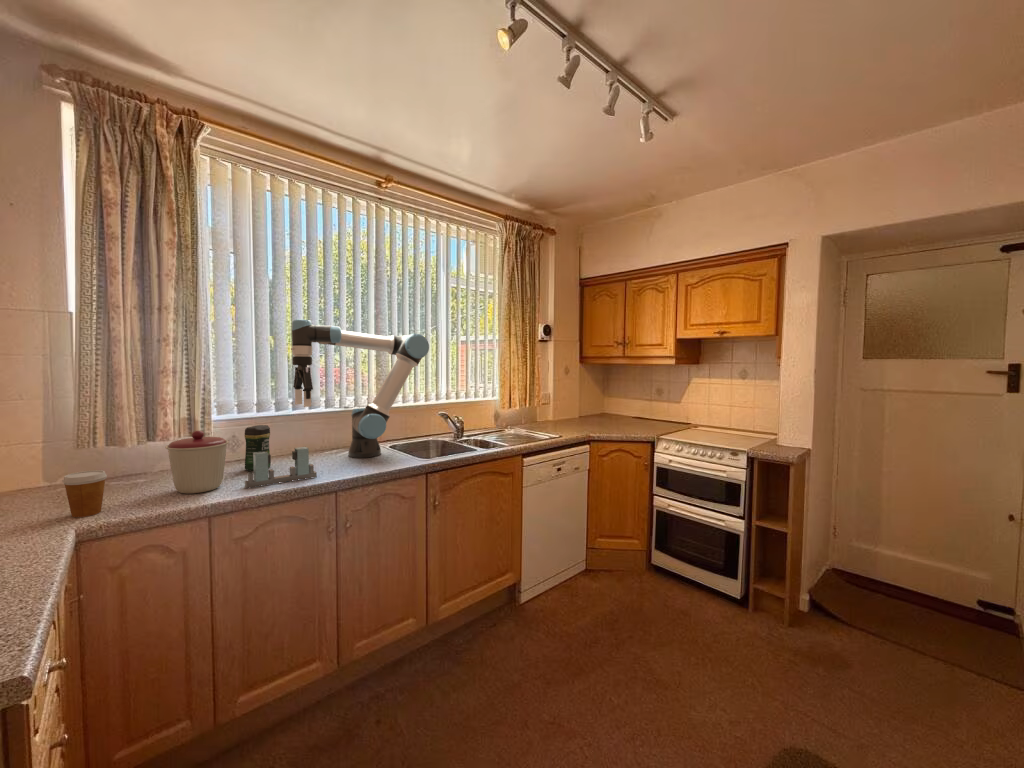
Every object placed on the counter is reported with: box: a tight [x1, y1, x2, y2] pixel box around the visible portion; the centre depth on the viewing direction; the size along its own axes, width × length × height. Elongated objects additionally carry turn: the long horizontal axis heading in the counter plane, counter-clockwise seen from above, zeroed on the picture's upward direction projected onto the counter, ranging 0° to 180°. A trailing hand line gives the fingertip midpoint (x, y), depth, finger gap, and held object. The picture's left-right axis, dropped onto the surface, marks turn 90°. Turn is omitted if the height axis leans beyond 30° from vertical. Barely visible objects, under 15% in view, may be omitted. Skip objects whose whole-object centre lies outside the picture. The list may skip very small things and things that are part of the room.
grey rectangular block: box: [253, 451, 272, 482], centre depth 160 cm, size 5×4×10 cm
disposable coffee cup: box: [61, 469, 108, 518], centre depth 129 cm, size 10×10×12 cm
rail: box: [244, 446, 318, 489], centre depth 165 cm, size 24×4×12 cm, turn 130°
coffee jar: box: [243, 424, 272, 472], centre depth 184 cm, size 10×8×19 cm
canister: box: [165, 430, 230, 494], centre depth 153 cm, size 18×18×21 cm
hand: (303, 405), depth 187 cm, fingers open, 13 cm apart
